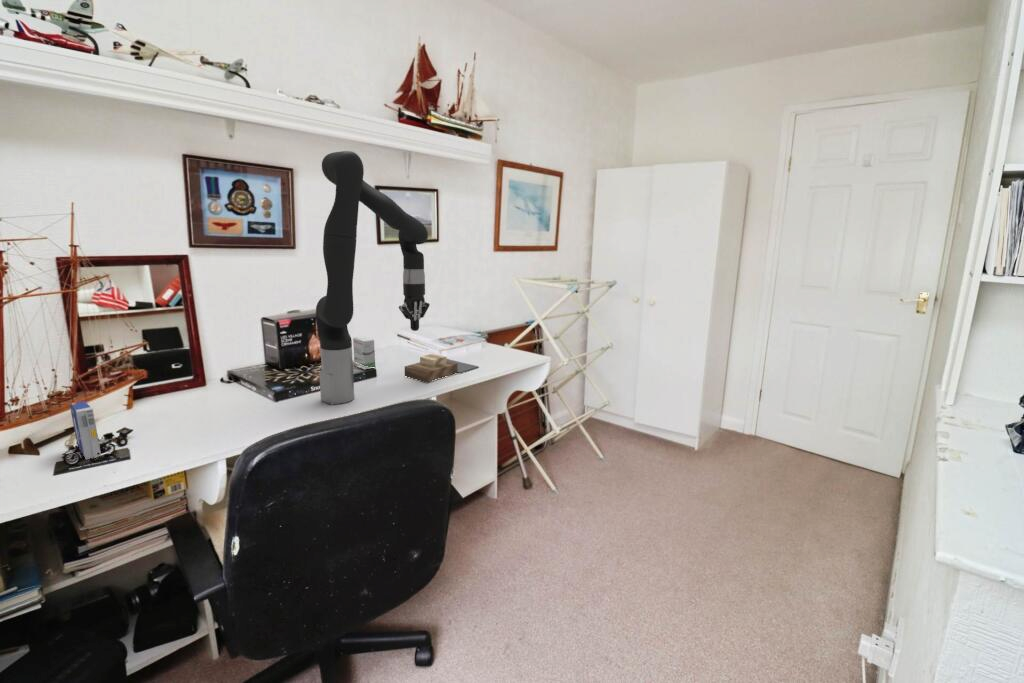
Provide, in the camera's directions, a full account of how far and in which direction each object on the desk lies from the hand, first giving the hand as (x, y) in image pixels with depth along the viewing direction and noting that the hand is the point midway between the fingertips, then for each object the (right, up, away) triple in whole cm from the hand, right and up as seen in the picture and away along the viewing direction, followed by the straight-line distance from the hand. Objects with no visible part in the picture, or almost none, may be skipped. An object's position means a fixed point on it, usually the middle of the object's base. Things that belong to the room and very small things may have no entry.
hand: (415, 330), depth 170 cm
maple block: (+5, -13, +10) cm, 17 cm away
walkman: (-65, -31, -58) cm, 92 cm away
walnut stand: (+4, -17, +10) cm, 20 cm away
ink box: (-24, -15, +18) cm, 33 cm away
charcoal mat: (+11, -14, +23) cm, 29 cm away
